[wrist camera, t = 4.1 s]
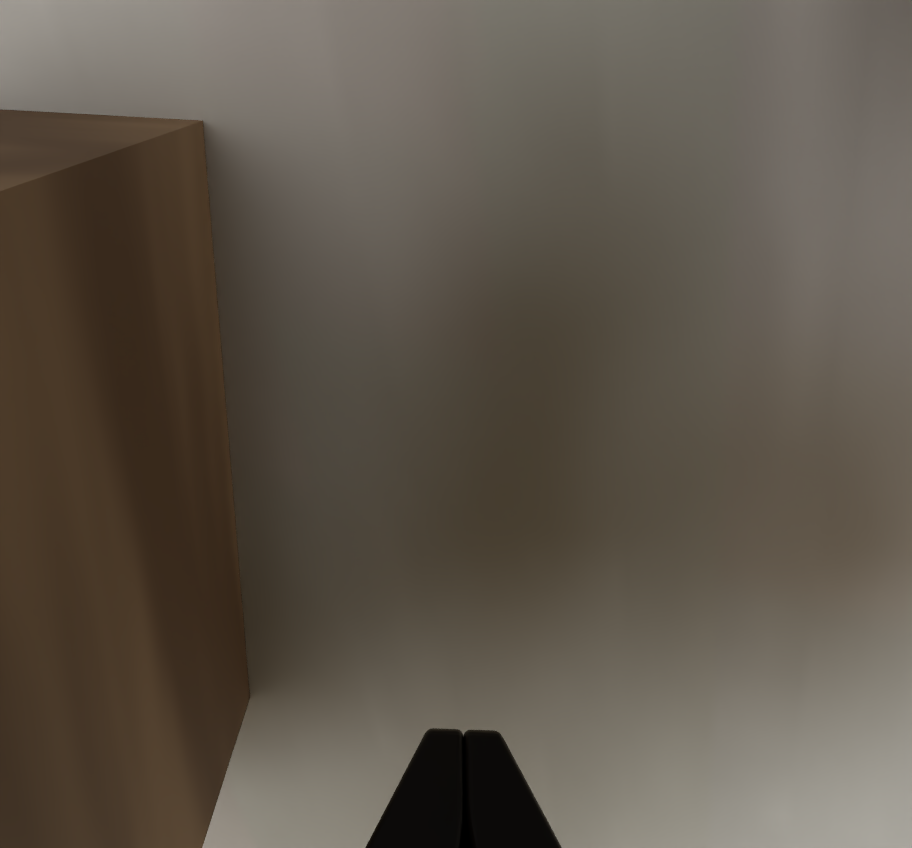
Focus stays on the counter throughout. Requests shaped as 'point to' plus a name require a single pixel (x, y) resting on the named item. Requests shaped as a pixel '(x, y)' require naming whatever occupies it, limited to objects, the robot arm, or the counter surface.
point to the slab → (113, 489)
